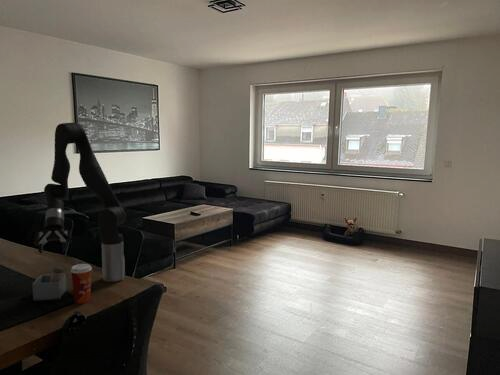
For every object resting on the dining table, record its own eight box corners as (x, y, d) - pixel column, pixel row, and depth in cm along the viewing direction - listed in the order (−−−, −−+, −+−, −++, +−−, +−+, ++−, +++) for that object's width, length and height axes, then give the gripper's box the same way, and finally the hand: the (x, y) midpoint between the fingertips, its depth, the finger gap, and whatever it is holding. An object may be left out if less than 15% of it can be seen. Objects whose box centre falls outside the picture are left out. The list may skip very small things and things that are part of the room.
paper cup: (84, 305, 141) (83, 270, 139) (67, 303, 142) (65, 268, 140) (97, 297, 148) (96, 263, 146) (80, 295, 150) (79, 262, 148)
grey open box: (66, 289, 155) (65, 273, 154) (59, 299, 146) (58, 282, 145) (42, 290, 153) (41, 274, 152) (33, 300, 144) (32, 283, 143)
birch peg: (56, 291, 151) (64, 268, 152) (53, 294, 148) (62, 271, 148) (47, 289, 151) (55, 266, 151) (44, 292, 147) (52, 268, 147)
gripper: (35, 216, 162) (31, 249, 152) (71, 215, 167) (69, 246, 158) (38, 225, 167) (34, 257, 158) (72, 223, 172) (71, 254, 163)
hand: (52, 252), depth 158 cm, fingers open, 8 cm apart
